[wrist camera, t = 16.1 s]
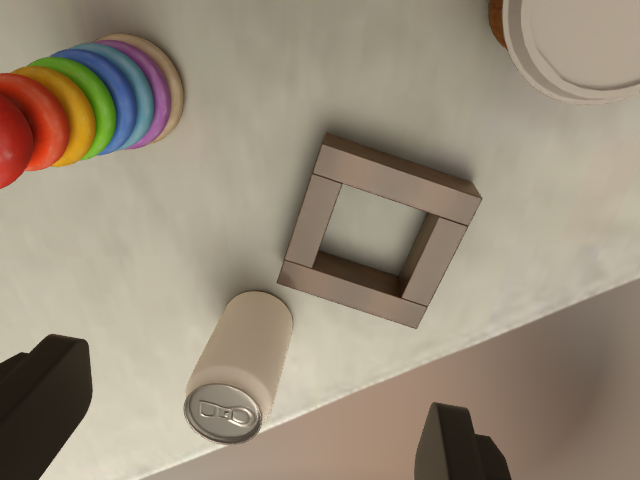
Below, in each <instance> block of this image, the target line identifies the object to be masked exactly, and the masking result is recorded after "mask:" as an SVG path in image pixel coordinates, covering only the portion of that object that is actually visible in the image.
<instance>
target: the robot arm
mask: <svg viewBox="0 0 640 480" xmlns="http://www.w3.org/2000/svg"><path fill="white" fill-rule="evenodd" d="M92 392H93V389H92V377H91V366H90V355H89V346H88V343H87V341H86V340H84V339H79V338H73V337H68V336H62V335H56V334H50V335H48V336H47V337H45V338H44V339H43V340H42V341H41V342H40V343H39V344H38V345H37V346H36V347H35V348H34V349H33V350H32V351H31V352H30V353H29V354H28V353H23V352H21V353H19V354H17V355H15V356H13V357H11V358H9V359H7V360H6V361H4V362H2V363H0V480H39V479H40V477H41V476H42V474H43V473H44V472H45V470H46V469H47V468H48V466H49V465H50V463H51V462H52V461H53V459H54V458H55V457H56V455H57V454H58V452H59V451H60V450H61V448H62V447H63V445H64V444H65V443H66V441H67V440H68V439H69V437H70V436H71V434H72V433H73V432H74V430H75V429H76V428H77V426H78V425H79V423H80V422H81V421H82V419H83V418H84V416H85V415H86V413H87V411H88V408H89V406H90V403H91V399H92ZM414 477H415V480H511V476H510V473H509V470H508V466H507V463H506V459H505V457H504V456H503V455H502V453H501V452H500V450H499V449H498V448H497V446H496V445H495V444H494V442H493V441H492V439H491V438H490V437H489V436H483V435H478V434H475V433H474V429H473V425H472V421H471V416H470V413H469V410H468V409H467V408H465V407H459V406H453V405H447V404H442V403H436V402H433V403H432V405H431V407H430V410H429V413H428V416H427V419H426V422H425V426H424V429H423V432H422V435H421V438H420V442H419V445H418V448H417V452H416V458H415V469H414Z"/></svg>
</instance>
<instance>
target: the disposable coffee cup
mask: <svg viewBox="0 0 640 480" xmlns="http://www.w3.org/2000/svg"><path fill="white" fill-rule="evenodd" d="M489 22H490V26H491V29H492V32H493V34H494V36H495V37H496V39H497V40H498V42H499V43H500V44H501V45H502V46H503V47H505V48H506V49H507V50H508V51H509V54H510V57H511V59H512V60H513V62H514V64H515V66H516V68H517V70H518V71H519V72H520V73H521V74H522V75H523V76H524V78H525V79H526V80H527V81H528V82H529V83H530V84H531V85H532V86H533V87H535V88H536V89H537V90H539V91H540V92H542V93H544V94H546V95H547V96H549V97H551V98H553V99H556V100H559V101H562V102H565V103H570V104H577V105H598V104H608V103H612V102H616V101H620V100H624V99H627V98H629V97H631V96H634V95H636V94H638V93H640V0H490V2H489Z"/></svg>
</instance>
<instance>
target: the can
mask: <svg viewBox="0 0 640 480" xmlns="http://www.w3.org/2000/svg"><path fill="white" fill-rule="evenodd" d="M292 328H293V322H292V316H291V313H290V311H289V310H288V308H287V307H286V306H285V304H284V303H283V302H282V301H280V300H279V299H278V298H276V297H274V296H272V295H270V294H267V293H264V292H257V291H251V292H245V293H242V294H239V295H237V296H236V297H234V298H233V299H232V300H231V301H230V302H229V303H228V305H227V307H226V308H225V310H224V312H223V314H222V316H221V318H220V320H219V322H218V324H217V325H216V327H215V329H214V331H213V333H212V335H211V337H210V339H209V341H208V343H207V345H206V347H205V349H204V351H203V353H202V355H201V357H200V359H199V361H198V363H197V365H196V367H195V369H194V371H193V373H192V375H191V377H190V379H189V381H188V384H187V388H186V400H185V403H184V415H185V418H186V420H187V422H188V424H189V425H190V427H191V428H192V429H193V430H194V431H195V432H196V433H197V434H198V435H200V436H201V437H203V438H205V439H207V440H209V441H211V442H214V443H218V444H223V445H236V444H241V443H245V442H247V441H249V440H251V439H252V438H253V437H255V436H256V435H257V433H258V432H259V430H260V428H261V426H262V424H263V423H264V422H265V421H266V420H267V418H268V417H269V415H270V412H271V410H272V406H273V403H274V399H275V396H276V392H277V388H278V385H279V381H280V377H281V373H282V369H283V365H284V362H285V358H286V354H287V350H288V346H289V342H290V338H291V334H292Z"/></svg>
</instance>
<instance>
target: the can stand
mask: <svg viewBox="0 0 640 480" xmlns="http://www.w3.org/2000/svg"><path fill="white" fill-rule="evenodd" d="M342 183H343V184H346V185H349V186H352V187H355V188H358V189H361V190H364V191H367V192H369V193H372V194H375V195H378V196H381V197H384V198H387V199H390V200H393V201H396V202H399V203H402V204H405V205H408V206H411V207H414V208H417V209H420V210H422V211H425V212H428V214H427V216H426V218H425V220H424V223H423V225H422V227H421V229H420V231H419V234H418V236H417V238H416V240H415V242H414V244H413V247H412V249H411V251H410V253H409V255H408V258H407V260H406V262H405V264H404V266H403V269H402V271H401V273H400V275H399V277H397V276H394V275H391V274H388V273H385V272H382V271H379V270H376V269H373V268H370V267H367V266H364V265H361V264H358V263H355V262H352V261H349V260H346V259H343V258H340V257H337V256H334V255H331V254H328V253H325V252H322V251H319V248H320V245H321V242H322V239H323V237H324V234H325V231H326V228H327V225H328V223H329V220H330V217H331V214H332V211H333V209H334V206H335V203H336V200H337V197H338V195H339V192H340V189H341V186H342ZM481 200H482V197H481V195H480V194H479V192H478V190H477V189H476V187H475V185H474V184H473V183H471V182H468V181H465V180H463V179H460V178H457V177H454V176H451V175H448V174H445V173H442V172H439V171H436V170H433V169H431V168H428V167H425V166H422V165H419V164H416V163H413V162H410V161H407V160H404V159H401V158H399V157H396V156H393V155H390V154H387V153H384V152H381V151H378V150H375V149H372V148H369V147H367V146H364V145H361V144H358V143H355V142H352V141H349V140H346V139H343V138H340V137H337V136H334V135H332V134H329V133H326V135H325V137H324V139H323V142H322V144H321V148H320V151H319V154H318V157H317V160H316V163H315V166H314V169H313V172H312V175H311V178H310V181H309V185H308V188H307V191H306V194H305V197H304V200H303V203H302V206H301V209H300V212H299V215H298V218H297V221H296V225H295V228H294V231H293V234H292V237H291V240H290V243H289V246H288V249H287V252H286V255H285V258H284V262H283V265H282V268H281V271H280V274H279V277H278V280H277V283H278V284H281V285H284V286H287V287H290V288H293V289H296V290H299V291H302V292H305V293H308V294H311V295H314V296H317V297H320V298H323V299H327V300H330V301H333V302H336V303H339V304H342V305H345V306H348V307H351V308H354V309H357V310H360V311H363V312H366V313H369V314H372V315H375V316H378V317H381V318H384V319H387V320H390V321H394V322H397V323H400V324H403V325H406V326H409V327H412V328H415V329H417V327H418V325H419V323H420V321H421V319H422V317H423V315H424V313H425V311H426V309H427V306H429V304H430V302H431V300H432V298H433V296H434V294H435V292H436V290H437V288H438V286H439V284H440V282H441V280H442V278H443V276H444V274H445V272H446V270H447V268H448V266H449V264H450V262H451V260H452V258H453V256H454V254H455V252H456V250H457V248H458V246H459V244H460V242H461V240H462V238H463V236H464V234H465V232H466V230H467V228H468V226H469V224H470V222H471V220H472V218H473V216H474V214H475V212H476V210H477V208H478V206H479V204H480V202H481Z"/></svg>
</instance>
